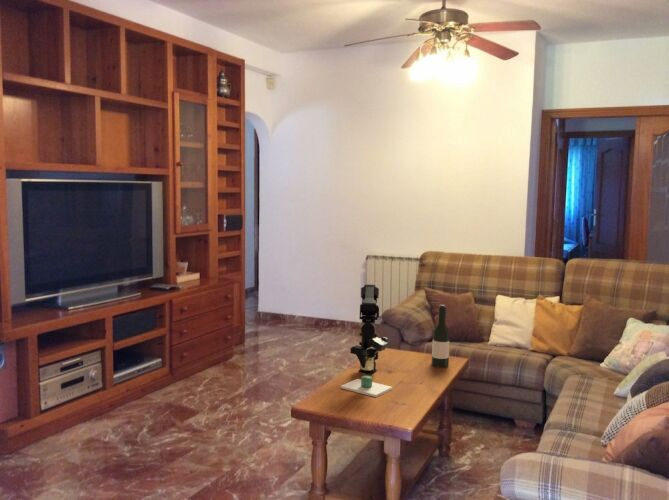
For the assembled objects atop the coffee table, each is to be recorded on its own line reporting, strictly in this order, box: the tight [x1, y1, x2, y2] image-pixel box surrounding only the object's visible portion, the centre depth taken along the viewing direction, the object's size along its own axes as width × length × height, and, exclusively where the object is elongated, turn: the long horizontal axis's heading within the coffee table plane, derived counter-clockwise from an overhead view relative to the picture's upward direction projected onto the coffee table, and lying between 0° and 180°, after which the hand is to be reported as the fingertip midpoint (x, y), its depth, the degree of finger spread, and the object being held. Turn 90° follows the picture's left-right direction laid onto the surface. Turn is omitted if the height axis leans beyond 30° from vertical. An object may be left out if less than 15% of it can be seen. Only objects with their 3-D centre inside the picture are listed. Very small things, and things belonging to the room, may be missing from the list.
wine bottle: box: [431, 304, 451, 368], centre depth 303 cm, size 8×8×30 cm
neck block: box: [340, 375, 393, 398], centre depth 267 cm, size 18×13×5 cm
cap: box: [361, 356, 374, 370], centre depth 266 cm, size 5×6×5 cm
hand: (367, 366), depth 266 cm, fingers closed on cap, 5 cm apart
